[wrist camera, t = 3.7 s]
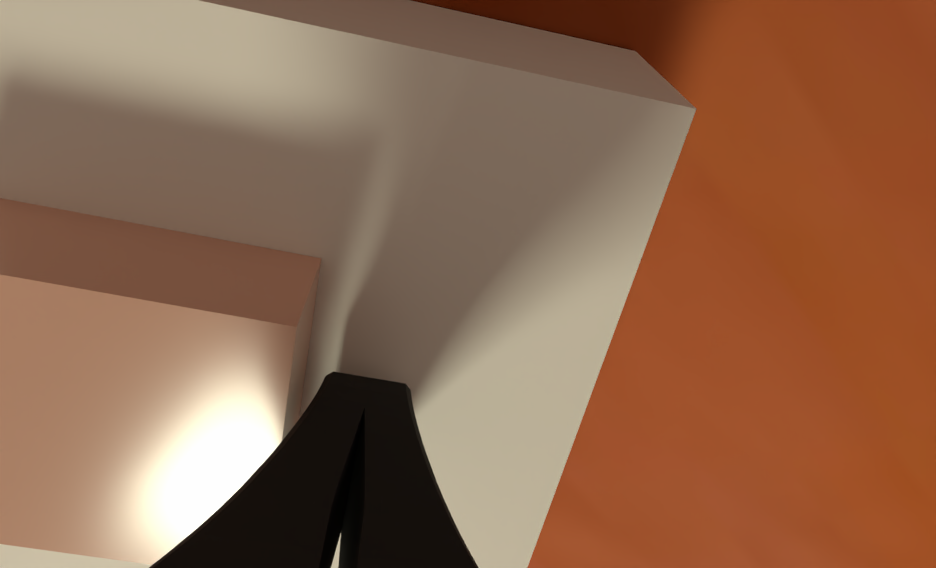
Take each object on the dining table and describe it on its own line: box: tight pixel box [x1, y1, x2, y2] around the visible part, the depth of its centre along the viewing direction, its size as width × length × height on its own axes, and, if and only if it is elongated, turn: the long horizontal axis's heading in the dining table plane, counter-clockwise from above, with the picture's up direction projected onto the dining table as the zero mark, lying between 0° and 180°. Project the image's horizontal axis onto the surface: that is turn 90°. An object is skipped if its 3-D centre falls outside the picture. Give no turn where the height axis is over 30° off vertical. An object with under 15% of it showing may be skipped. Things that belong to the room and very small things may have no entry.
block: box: [0, 198, 322, 565], centre depth 11 cm, size 5×5×2 cm
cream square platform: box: [0, 0, 696, 568], centre depth 14 cm, size 12×12×4 cm
